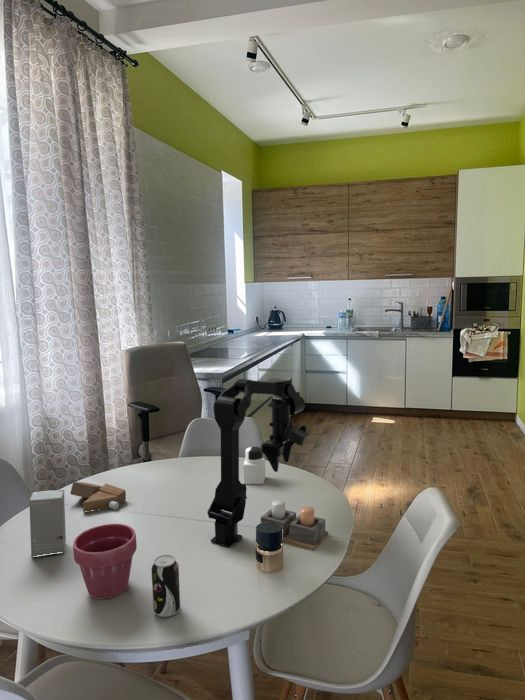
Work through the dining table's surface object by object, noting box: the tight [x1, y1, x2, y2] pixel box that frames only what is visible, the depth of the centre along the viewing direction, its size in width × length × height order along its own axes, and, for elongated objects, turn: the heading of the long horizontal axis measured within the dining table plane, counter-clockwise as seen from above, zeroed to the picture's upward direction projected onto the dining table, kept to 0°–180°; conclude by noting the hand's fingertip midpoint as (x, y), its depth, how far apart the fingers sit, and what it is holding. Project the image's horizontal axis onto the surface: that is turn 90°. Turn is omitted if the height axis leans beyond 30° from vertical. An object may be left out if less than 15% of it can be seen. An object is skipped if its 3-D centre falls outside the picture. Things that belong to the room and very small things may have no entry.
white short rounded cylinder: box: [271, 500, 286, 520], centre depth 147 cm, size 4×4×5 cm
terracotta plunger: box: [299, 506, 315, 528], centre depth 143 cm, size 4×4×5 cm
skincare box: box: [29, 489, 67, 557], centre depth 139 cm, size 8×7×16 cm
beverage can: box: [151, 554, 181, 618], centre depth 113 cm, size 6×6×12 cm
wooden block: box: [69, 481, 127, 513], centre depth 168 cm, size 8×13×18 cm
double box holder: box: [260, 508, 329, 552], centre depth 146 cm, size 10×17×5 cm, turn 60°
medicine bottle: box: [242, 446, 266, 485], centre depth 185 cm, size 7×7×12 cm
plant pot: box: [72, 523, 137, 600], centre depth 122 cm, size 14×14×13 cm
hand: (281, 466), depth 165 cm, fingers open, 9 cm apart
